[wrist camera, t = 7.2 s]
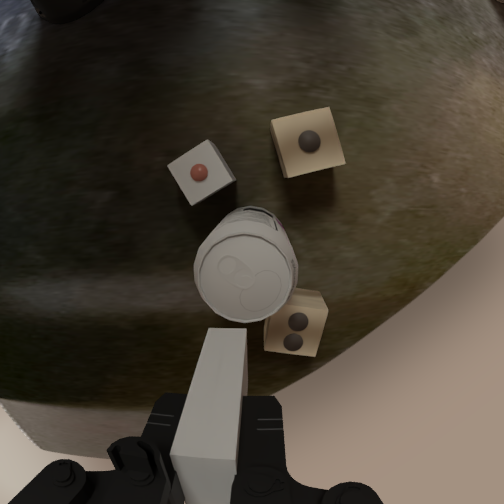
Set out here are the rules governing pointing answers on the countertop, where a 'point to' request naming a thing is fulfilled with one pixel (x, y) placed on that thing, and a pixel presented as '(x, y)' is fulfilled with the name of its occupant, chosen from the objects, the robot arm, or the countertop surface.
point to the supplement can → (246, 266)
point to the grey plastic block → (201, 172)
